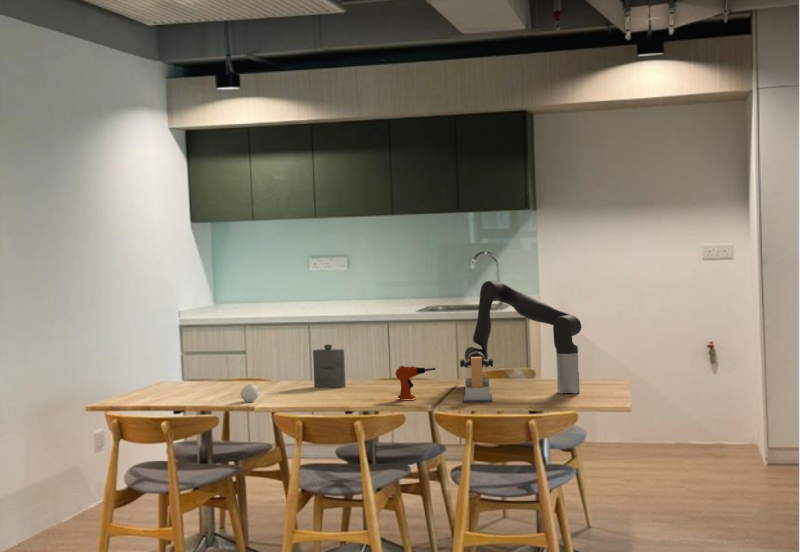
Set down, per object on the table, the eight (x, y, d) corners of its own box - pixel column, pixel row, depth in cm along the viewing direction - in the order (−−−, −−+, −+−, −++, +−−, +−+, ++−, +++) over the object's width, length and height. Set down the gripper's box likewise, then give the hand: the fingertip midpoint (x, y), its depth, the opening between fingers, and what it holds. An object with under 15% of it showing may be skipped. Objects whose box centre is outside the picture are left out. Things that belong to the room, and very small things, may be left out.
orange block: (483, 396, 450) (481, 356, 449) (483, 398, 446) (481, 358, 445) (472, 397, 450) (471, 357, 450) (472, 398, 446) (470, 358, 445)
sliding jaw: (489, 393, 456) (488, 377, 455) (489, 394, 453) (488, 378, 452) (465, 394, 456) (465, 378, 456) (465, 395, 453) (465, 379, 453)
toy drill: (438, 397, 448) (432, 362, 448) (396, 402, 455) (391, 367, 455) (441, 396, 453) (436, 361, 453) (400, 400, 459) (395, 366, 459)
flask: (312, 388, 498) (310, 345, 497) (316, 386, 504) (314, 344, 503) (343, 388, 495) (341, 345, 494) (346, 386, 500) (345, 343, 500)
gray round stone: (249, 399, 470) (249, 382, 470) (262, 401, 465) (262, 383, 465) (237, 402, 463) (236, 385, 463) (250, 403, 459) (249, 386, 459)
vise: (491, 396, 456) (491, 382, 456) (492, 402, 442) (491, 387, 442) (463, 397, 457) (463, 383, 457) (463, 402, 443) (462, 388, 443)
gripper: (460, 352, 475) (459, 357, 459) (492, 351, 474) (493, 356, 458) (460, 369, 475) (460, 374, 459) (492, 368, 474) (493, 373, 458)
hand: (476, 365), depth 459 cm, fingers open, 8 cm apart
